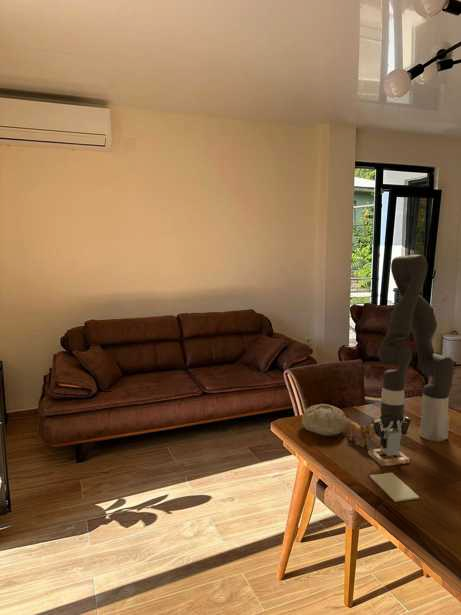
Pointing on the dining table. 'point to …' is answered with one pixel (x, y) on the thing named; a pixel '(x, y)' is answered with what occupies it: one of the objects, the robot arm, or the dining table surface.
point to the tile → (394, 487)
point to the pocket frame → (384, 462)
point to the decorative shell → (324, 420)
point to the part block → (392, 443)
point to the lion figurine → (362, 432)
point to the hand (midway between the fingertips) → (390, 446)
